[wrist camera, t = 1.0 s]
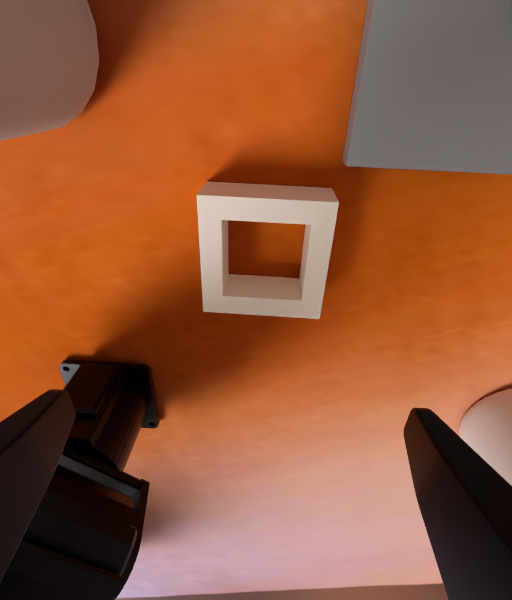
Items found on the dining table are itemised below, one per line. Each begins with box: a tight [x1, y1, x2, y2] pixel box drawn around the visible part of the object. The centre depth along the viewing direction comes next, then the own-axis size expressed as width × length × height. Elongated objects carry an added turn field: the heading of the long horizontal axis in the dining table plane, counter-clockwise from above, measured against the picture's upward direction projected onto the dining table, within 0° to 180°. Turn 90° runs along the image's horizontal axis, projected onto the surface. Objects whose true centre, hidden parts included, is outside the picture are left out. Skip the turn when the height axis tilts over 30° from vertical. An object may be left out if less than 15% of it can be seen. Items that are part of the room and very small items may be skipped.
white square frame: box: [197, 181, 339, 319], centre depth 18 cm, size 6×6×2 cm
